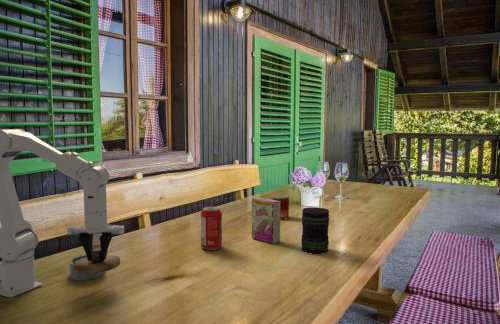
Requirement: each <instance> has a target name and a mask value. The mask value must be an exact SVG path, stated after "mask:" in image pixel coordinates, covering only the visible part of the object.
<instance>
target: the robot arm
mask: <svg viewBox="0 0 500 324" xmlns="http://www.w3.org/2000/svg"><path fill="white" fill-rule="evenodd" d="M23 152H29V153H32V154H34V155H36V156H38V157H40V158H42V159H44V160H46V161H49V162H51V163H53V164H54V165H55V168H56V170H57V171H58V172H60V173H62V174H64V175H65V176H68V177H70V178H72V179H74V180H75V181H77V182H78V183H79V185H80V186H81V187H82V189H83V210H84V211H83V212H84V213H83V214H84V215H83V217H84V220H83V221H84V225H72V226H71V225H70V226H68V227H67V236H71V235H78V237H77V240H78V242H79V243H80V245H81V246H82V248H83V250H84V252H85V255H86V256H87V260H88V261H91V250H93V248H92V243H93V234H102V235H101V236H100V237H99V239H100V245H101V261H104V260H105V259H106V255H108V250H109V246H110V243H111V241H112V239H113V237H114V235H123V234H124V233H125V225H117V224H116V225H115V224H108V214H107V213H108V211H107V208H108V207H107V203H108V202H107V183H108V182H109V180H110V173H109V171H108V169H106V168H105V167H104V166H103V165H100V164H98V165H94V162H93V161H88V160H86V159H83V158H82V157H79V154H78V153H77V152H75V151H73V152H71V151H67V152H64V153H63V152H62V151H59V150H58V149H56V148H55V147H53V146H51V145H49V144H48V143H46V142H45V141H43V140H42V139H40V138H38V137H36V136H35V135H34V134H33V133H31V132H27V131H25V130H24V129H21V128H13V129H9V128H8V129H1V128H0V225H1V226H0V259H2V260H1V261H0V295H1V296H2V297H3V296H4V297H6V298H13V297H16V296H18V295H21V294H23V293H26V292H29V291H31V290H33V289H36V288H39V287H42V286H43V283H42V282H39V281H36V276H35V275H36V273H35V255H34V254H35V249H36V247H38V244H39V236H38V234H37V232H35V230H34V229H33V226H32V224H31V222H29V221H28V220H25V218H24V215H23V214H24V213H23V212H22V207H21V204H20V201H19V196H18V194H17V190H16V186H15V183H14V179H13V175H12V173H11V170H10V164H11V163H12V161H13V160H14V159H15V158H16V157H17V156H18V155H20V154H21V153H23Z"/></svg>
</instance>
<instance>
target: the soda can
mask: <svg viewBox="0 0 500 324" xmlns="http://www.w3.org/2000/svg"><path fill="white" fill-rule="evenodd" d="M222 245H223V212H222V211H221V207H218V206H205V207H202V210H201V212H200V247H201V248H202V249H204V250H205V249H206V251H217V250H219V249H221V247H222ZM216 249H217V250H216Z"/></svg>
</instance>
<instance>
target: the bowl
mask: <svg viewBox="0 0 500 324" xmlns="http://www.w3.org/2000/svg"><path fill="white" fill-rule="evenodd" d="M85 257H87V256H86V254H82V255H80V254H79V255H78V256H73V257H72V258H71V259H69V260H68V276H69V278H70V279H71V280H75V281H88V280H93V279H97V278H99V277H102V276H104V275H105V274H106V273H107V271H105V272H100V273H90V274H86V273H78V272H76V271H74V269H73V264H74V263H75V262H76V261H77V260H80V259H82V258H85Z"/></svg>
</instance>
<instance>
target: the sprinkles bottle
mask: <svg viewBox="0 0 500 324" xmlns="http://www.w3.org/2000/svg"><path fill="white" fill-rule="evenodd" d="M101 235H102V234H93V243H92V248H93V249H101V245H100V239H99V237H100V236H101Z"/></svg>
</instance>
